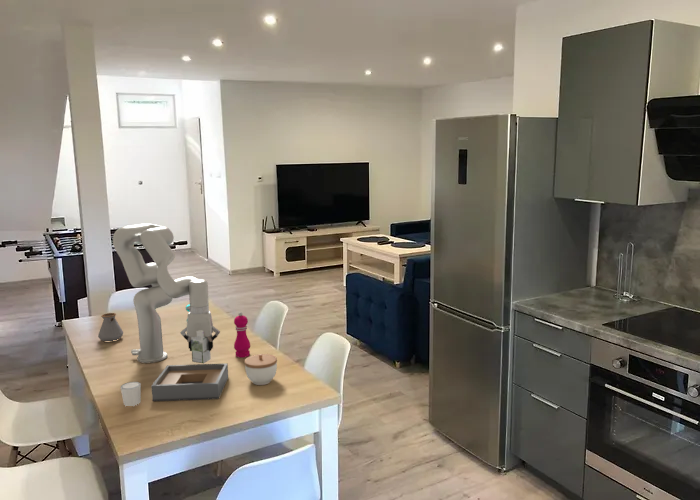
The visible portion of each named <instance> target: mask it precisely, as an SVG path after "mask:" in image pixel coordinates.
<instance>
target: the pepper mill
mask: <svg viewBox="0 0 700 500" xmlns="http://www.w3.org/2000/svg"><path fill="white" fill-rule="evenodd" d="M248 321H249V319H248V317H247V316H246V315H243V312H241V311H240V312H238V315H237V316H236V317H235V318H234V320H233V324H234V325H235V331H236V336H235V337H236V338H235V341H234V344H233V349H234V350H235V357H236V358H243V359H244V358H248V357H250V356H251V354H250V353H251V352H250V348H251V342H250V340H249V337H248V335H247V329H248V326H247V325H248V323H249V322H248Z"/></svg>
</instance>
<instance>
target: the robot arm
mask: <svg viewBox="0 0 700 500" xmlns="http://www.w3.org/2000/svg"><path fill="white" fill-rule="evenodd" d="M174 237H175V236H174V233H173V232H172V230H171V229H170V228H169V227H167V226H165V225H159V224H153V223H146V222H145V223H139V224H131V225H125V226H121V227H120V228H118V229H117V230H115V231H114V234H113V236H112V243H113V244H112V245H113V248H114V250H115V252H116V253H117V255H118V257H119V258H120V261H121V263H122V266H123V267H124V268H123V269H124V271H125V273H126V276H127V278H128V281H129V283H130V284H131V286H132V287H133V288H144V287H147V286H150V285H151V287H148V288H145V289H141V290H139V291H138V292H136V293H135V294H134V296H133V301H132V302H133V306H134V309H135V313H136V317H137V326H138V337H139V348H138V349H136V348H135V349H134V348H133V349H131V350H130V353H131V355H132V356H137V358H136V360H137V362H139V363H141V364H151V363H157V362H161V361H163V360H165V359H167V357H168V353H167V352H166V351H164V345H163V332H162V321H161V316H160V314H159V313H158V312H157V309H159V308H162V307H165V306H168V305H169V304H170V303H172V300H173V299H178V298H181V297H182V298H183V297H184V296H189V304H190V306H188V307H186V306H185V310H186V311H187V310H189V311H190V312H188V313H187V317H186V326H185V328H184V329H181V331H180V335H181V336H182V337H183V338H184V339H185V340H186V341H187V344H188V349H189V352H192V347H191V337H197V332H196V331H198V330H203V331H204V337H207V338H208V339H209V342H208V346H209V351H210V352H211V351H212V349H214V340H215V339H216V338H217V337H218V336H219V335H220V334H221V331H220V330H219V329H218V328H216V327H215V326H214V324H213V317H212V313H211V311H210V307H209V303H210V302H209V282H208V280H206V279H204V278H197V277H195V276H191V275H189V276H188V275H187V276H182V277H178V278H176V279H173V277H172V276H171V275H170V273H169V270H168V266H169V265H170V264H171V263H172V262H174V260H175V257H176V255H175V252H174V251H173V250H172V248H171V247H170V245H171V244H172V243H173V241H174V240H175V239H174ZM140 244H141V245H142V246H143V248H144V249H145V250H146V252H147V253H148V255H149V256H150V258H152V259H151V260H152V261H154V262H149V263H148V262H147V263H145V260H144V258H143V255H142V254H141V252H140V251H139V250H138V249H137V248H136V247H134V245H140ZM213 333H214V335H212V334H213Z"/></svg>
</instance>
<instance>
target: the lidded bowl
mask: <svg viewBox="0 0 700 500" xmlns="http://www.w3.org/2000/svg"><path fill="white" fill-rule="evenodd" d="M277 363H278V358H277V357H276V356H275V355H273V354H268V353H259V354H254V355H249V356H248V357H245V359H244V370H245V374H246V376H247V378H248V379H249V381H250V382H252V384H253V385H257V386H264V385H267V384H269V383H271V382H272V380H273V379H274V378H275V376H276V373H277V368H278V364H277Z"/></svg>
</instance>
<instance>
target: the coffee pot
mask: <svg viewBox="0 0 700 500" xmlns="http://www.w3.org/2000/svg"><path fill="white" fill-rule="evenodd" d="M116 316H117V313H115V312H108V313H104V314H102V315H101V318H102V324H101V327H100V329H99V332H98V336H97V337H98V338H99V340H100V341H102V342H103V341H113V340H117V339H119V338H120V339H121V338H122V337H123V336H124V330H123V329H122V327H121V326H120V324H119V323H118V321H117V319H116ZM120 339H119V340H120ZM117 341H118V340H117Z"/></svg>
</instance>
